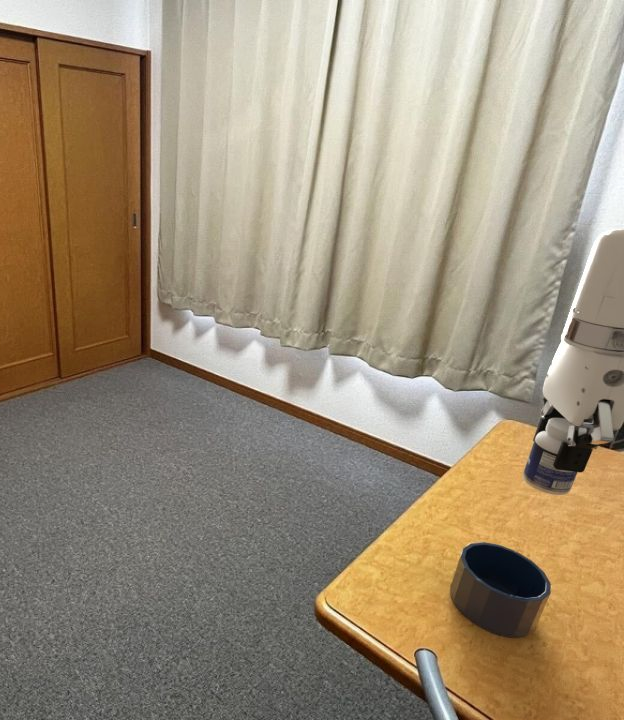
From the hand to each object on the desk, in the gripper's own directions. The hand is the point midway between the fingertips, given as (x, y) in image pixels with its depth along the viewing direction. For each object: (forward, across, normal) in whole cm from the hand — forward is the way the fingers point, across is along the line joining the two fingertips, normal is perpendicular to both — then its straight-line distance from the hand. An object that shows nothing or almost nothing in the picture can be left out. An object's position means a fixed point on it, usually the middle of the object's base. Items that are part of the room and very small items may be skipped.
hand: (556, 455), depth 65 cm
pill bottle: (+5, 0, 0) cm, 5 cm away
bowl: (+17, -12, +8) cm, 22 cm away
